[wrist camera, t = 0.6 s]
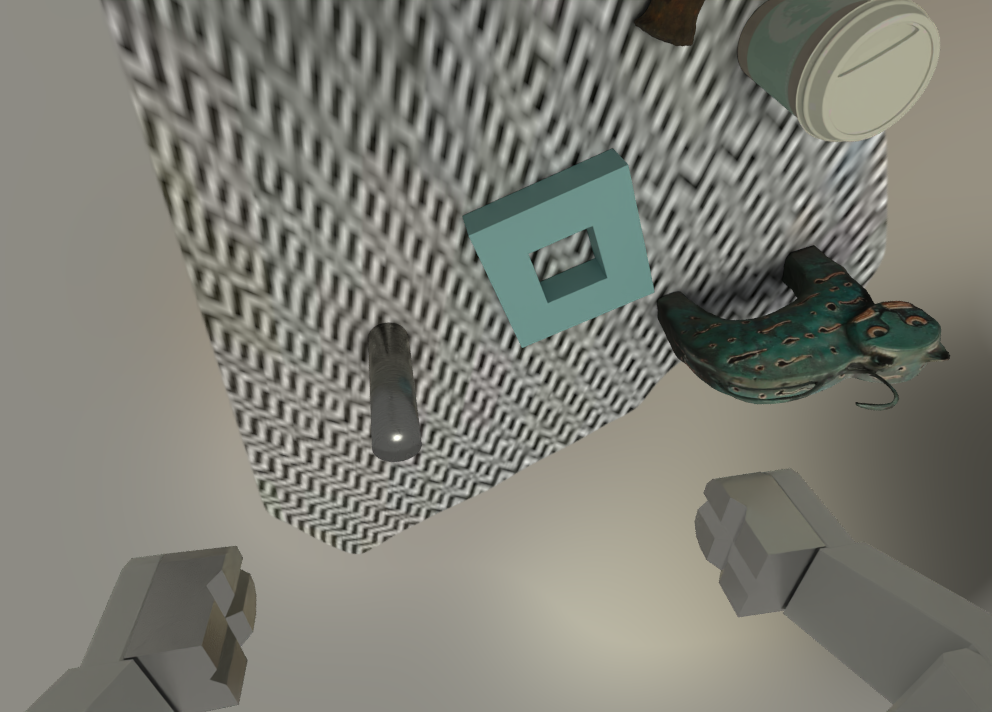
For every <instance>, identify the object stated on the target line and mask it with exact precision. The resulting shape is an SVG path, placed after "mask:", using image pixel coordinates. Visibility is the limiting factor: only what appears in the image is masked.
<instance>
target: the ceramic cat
mask: <svg viewBox="0 0 992 712" xmlns="http://www.w3.org/2000/svg"><path fill="white" fill-rule="evenodd" d="M782 280H783V282H784V283H785V284H786V285H787V286H788V287H789V288H791V289H792V290H793V292H794V294H795V295H796V297H797V299H796V300H795V301H794V302H792V303H790V304H789V305H787V306H785V307H783V308H781V309H779V310H778V311H776V312H773V313H771V314H768V315H765V316H762V317H759V318H754V319H746V320H726V319H722V318H719V317H717V316H715V315H713V314H711V313H709V312H707V311H705V310H704V309H702V308H701V307H699V306H698V305H696V304H694V303H693V302H692V301H690V300H689V299H688V298H687V297H685V296H684V295H683V294H682V293H681V292H677V293H676V292H674V293H670V294H668V295H666V296H664V297H662V298H660V299H658V304H657V306H658V320H659V322H660V324H661V326H662V328H663V330H664V332H665V335H666V337H667V339H668V341H669V343H670V345H671V347H672V349H673V351H674V353H675V355H676V356H677V358H678V359H680V360H681V361H682V362H684V363H685V364H687V366H688V367H689V368H690V369H691V370H692V371H693V372H694V373H695V374H696V375H697V376H698V377H699V378H700V379H701V380H703V381H704V382H705V383H707V384H708V385H709V386H711V387H712V388H714V389H716V390H717V391H720V392H722V393H725V394H727V395H730V396H732V397H734V398H736V399H739V400H742V401H745V402H748V403H754V404H776V403H784V402H789V401H793V400H798V399H801V398H804V397H807V396H809V395H811V394H815V393H817V392H820V391H823V390H825V389H827V388H829V387H831V386H833V385H835V384H837V383H838V382H840V381H842V380H844V379H846V378H857V379H861V380H865V381H870V382H878V383H884V384H886V385H887V386H888V387H889V388H890V389H891V390H892V392H893V393H894V400H893V401H892V402H891V403H888V404H866V403H858V402H856V405H857V406H859V407H861V408H866V409H870V410H887V409H890V408H892V407H893V406H895V404H896V403H897V402H898V400H899V395H898V394H897V392H896V390H895V389H894V388H893V387H892V386H891V385H890V383H900V382H905V381H908V380H911V379H912V378H914V377H915V376H917V375H918V374H919V373H920V371H921V370H922V369H923V368H924V367H925V365H926V364H927V363H928V362H930V361H947V360H949V359H950V355H949V352H947V351H946V349H945V347H944V346H943V345H942V344H941V342H940V336H941V327H940V325H939V323H938V322H937V321H936V320H935V319H934V318H932V317H931V316H930V315H928V314H927V313H926V312H924V311H923V310H922V309H920V308H918V307H915V306H914V305H913V304H911V303H909V302H903V301H888V302H881V303H878V304H874V302H873V301H872V299H871V297H870V295H869V294H868V292H867V290H866V289H865V288H863V287H862V286H861V285H860V284H859V283H858V282H857V281H856V280H854V279H853V278H852V277H851V276H850V275H849V274H848V273H847V271H846V269H845V268H844V267H842V266H841V265H839V264H837V263H836V262H834V261H833V260H831V259H830V258H828V257H827V256H826V255H825V254H824V253H823V252H821V251H820V250H819V249H818V248H816V247H815V246H811V247H808V248H804V249H801V250H798V251H795V252H792V253H791V254H790V255H789V256H788V257H787V259H786V261H785V264H784V273H783V278H782Z"/></svg>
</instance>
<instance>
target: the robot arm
mask: <svg viewBox="0 0 992 712" xmlns="http://www.w3.org/2000/svg"><path fill="white" fill-rule="evenodd" d="M704 495H705V496H706V498H707V500H708V501H707V502H706V503H705V504H703V505H702V506H701V507H700V508H699V509H698V511H697V515H696V519H695V529H696V537H697V539H698V543H699V545H700V548H701V550H702V552H703V554H704V556H705V558H706V560H707V561H709V562H710V563H712V564H713V565H715V566H716V567H717V568H719V569H720V570H721V572H720V578H719V583H720V585H721V587H722V589H723V591H724V593H725V594H726V596H727V598H728V600H729V602H730V603H731V605H732V607H733V609H734V611H735V612H736V614H737V616H738V617H743V616H750V615H757V614H764V613H771V612H777V611H784V612H783V614H784V615H786V616H787V617H788V618H789V619H790V620H792V621H793V622H794V623H795V624H797V625H798V626H799V627H800V628H801V629H803V630H804V631H805V632H806V633H807V634H809V635H810V636H811V637H812V638H813V639H815V640H816V641H817V642H819V644H821V645H822V646H823V647H824V648H825V649H827V650H828V651H829V652H830V653H831V654H833V655H834V656H835V657H837V658H838V659H839V660H840V661H841V662H842V663H843V664H845V665H846V666H847V667H848V668H850V669H851V670H852V671H853V672H854V673H856V674H857V675H858V676H859V677H860V678H862V679H863V680H864V681H865V682H867V683H868V684H869V685H870V686H871V687H872V688H874V689H875V690H876V691H877V692H878V693H880V694H881V695H882V696H883V697H885V698H886V699H887V700H888V701H889V702H890V703H892V704H893V706H892V707H891V708H890V709H889V710H888V711H887V712H992V614H990V613H989V612H987V611H985V610H983V609H982V608H980V607H978V606H976V605H974V604H973V603H971V602H969V601H967V600H966V599H964V598H962V597H960V596H959V595H957V594H955V593H953V592H952V591H950V590H948V589H946V588H945V587H943V586H941V585H939V584H937V583H936V582H934V581H932V580H930V579H929V578H927V577H925V576H923V575H921V574H920V573H918V572H916V571H915V570H913V569H911V568H909V567H907V566H906V565H904V564H902V563H900V562H899V561H897V560H895V559H893V558H892V557H890V556H888V555H886V554H885V553H883V552H881V551H879V550H877V549H876V548H874V547H872V546H870V545H868V544H867V543H865V542H857V543H856V542H855V541H854V540H853V539H852V537H851V536H850V535H849V534H848V532H846V530H845V529H844V528H843V526H842V525H841V524H840V523H839V522H838V520H837V519H836V518H835V517H834V516H833V514H832V513H831V512H830V511H829V510H828V508H827V507H826V506H825V505H824V503H823V502H822V501H821V500H820V499H819V497H818V496H817V495H816V494H815V493H814V491H813V490H812V489H811V488H810V487H809V485H808V484H807V483H806V482H805V480H804V479H803V478H802V477H801V476H800V475H799V473H797V472H796V471H794V470H792V469H781V470H775V471H768V472H756V473H749V474H743V475H736V476H730V477H724V478H717V479H712V480H711V481H709V482H708V483H707V485H706V488H705V490H704ZM242 560H243V557H242V555H241V553H240V551H239V549H238V547H237V546H230V547H221V548H213V549H204V550H196V551H186V552H178V553H169V554H161V555H153V556H146V557H138V558H131V560H130V561H129V562H128V563H127V564H126V565H125V566H124V568H123V569H122V570H121V573H120V575H119V578H118V580H117V582H116V585H115V587H114V589H113V591H112V594H111V596H110V599H109V601H108V603H107V605H106V608H105V610H104V612H103V615H102V617H101V619H100V621H99V624H98V626H97V629H96V631H95V633H94V635H93V638H92V640H91V643H90V645H89V647H88V649H87V652H86V654H85V656H84V659H83V661H82V663H81V666H80V667H78V668H72V669H68V670H67V671H66V672H65V673H64V674H63V675H62V676H61V677H60V678H59V679H58V680H57V681H56V682H55V683H54V684H53V685H52V686H51V687H50V688H49V689H48V690H47V691H46V692H45V693H44V694H43V695H41V696H40V697H39V698H38V699H37V700H36V701H35V702H34V703H33V704H32V705H31V706H30V707H29V708H28V709H27V710H26V711H25V712H206V711H211V710H216V709H221V708H226V707H231V706H235V705H239V701H240V696H241V691H242V686H243V681H244V676H245V670H246V666H247V658H246V656H245V655H244V652H243V651H242V649H241V646H242V645H243V643H244V642H245V641H246V640H247V639H248V637H249V636H250V635H251V634H252V633H253V629H254V623H255V618H256V617H255V616H256V591H255V585H254V582H253V579H252V577H251V575H250V574H249V573H247V572H245V571H243V570H241V569H240V568H241V564H242Z"/></svg>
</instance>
